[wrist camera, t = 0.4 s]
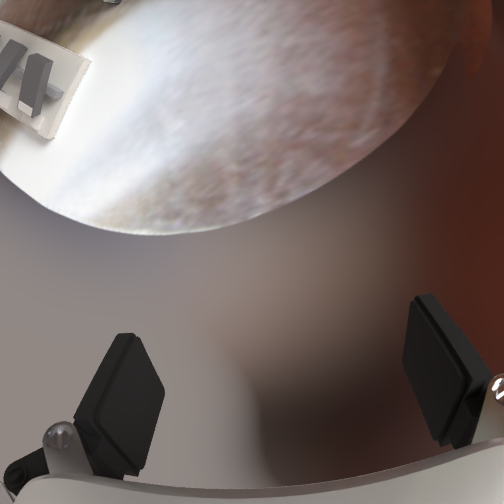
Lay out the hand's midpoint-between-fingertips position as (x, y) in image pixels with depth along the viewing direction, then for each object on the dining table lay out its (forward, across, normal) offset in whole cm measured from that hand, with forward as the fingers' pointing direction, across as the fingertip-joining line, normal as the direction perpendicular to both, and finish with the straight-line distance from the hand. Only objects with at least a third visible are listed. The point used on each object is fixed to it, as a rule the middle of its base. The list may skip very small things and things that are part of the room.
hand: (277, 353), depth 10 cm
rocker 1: (+26, +32, -25) cm, 48 cm away
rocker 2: (+26, +26, -19) cm, 42 cm away
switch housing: (+31, +32, -24) cm, 51 cm away
